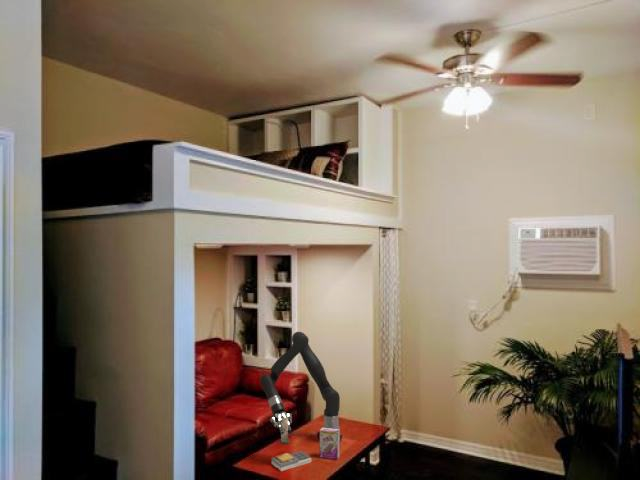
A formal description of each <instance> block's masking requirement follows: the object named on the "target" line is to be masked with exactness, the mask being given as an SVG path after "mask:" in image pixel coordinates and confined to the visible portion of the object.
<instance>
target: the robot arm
mask: <svg viewBox="0 0 640 480" xmlns="http://www.w3.org/2000/svg"><path fill="white" fill-rule="evenodd" d="M291 342H292V345H291V346H290V347H289V349H288V350H286V352H285V353H284V354H282V355H281V356H280V357H279V358H278V359H277V360H276V361H275V362H274V363H273V365H272V366H271V367H270V371H271V372H270V374H267V373H264V374H262V375H261V376H260V378H259V382H260V385H261V387H262V390H263V391H264V393H265V394H266V397H267V401H268V404H269V408H270V411H271V414H272V415H273V417H270V419H269V422H270V423H271V425H272V426H273V427H274V428H275V429H278V431H279V433H280V435H281V434H283V433H284V431H283V428H282V427H281V418H282V417H287V418H288V434H290V433H291V431H292V428H291V427H292V426H291V424H292V422H293V420H292V418H293V417H292V415H293V414H292V413H287V412H286V409H285V406H284V403H283V401H282V399H281V396H280V394H279V392H278V389H277V388H276V387H275V385H276V384H277V381H278V380H279V378H280V376H281V375H282V373H283V372H284V370H285V369H286V368H287V367H288V366H289V365H290V363H291V362H292V361H293V360H294V359H295V357H297V356H298V355H299V354H300V356H301V358H302V361H303V363H304V365H305V368H306V370H307V371H308V374H309V375H310V377H311V378H312V380H313V381H314V382H315V384H316V386H317V388H318V390H319V392H320V394H321V396H322V397H321V398H322V399H323V401H324V402H325V408H324V409H323V428H331V429H339V442H340V441H341V428H340V427H341V426H340V425H339V423H340V422H339V411H340V407H341V406H340V404H341V403H340V400H341V399H340V398H341V397H340V393H339V392H338V391H337V390H336V389H334V388H333V386H332V385H331V383H330V382H329V380H328V379H327V376H326V370H325V368H324V366H323V364H322V362H321V361H320V360H319V358H318V357H317V355H316V353H315V352H313V350H312V348H311V347H310V344H309V343H310V341H309V337H308V336H307V334H305V333H304V332H302V331H296V332H294V333H293V334H292V337H291Z"/></svg>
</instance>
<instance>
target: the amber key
mask: <svg viewBox="0 0 640 480" xmlns="http://www.w3.org/2000/svg"><path fill="white" fill-rule="evenodd" d="M288 453H289V452H288ZM288 453H287V452H286V453H282V454H280V455H275V457H276V458H277V459H278V460H279V461H281V462H282V463H283V462H287V461H290V460H293V457H292V456H290V455H289V454H290V453H289V454H288Z"/></svg>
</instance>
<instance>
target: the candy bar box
mask: <svg viewBox="0 0 640 480" xmlns="http://www.w3.org/2000/svg"><path fill="white" fill-rule="evenodd" d="M319 458H320V459H327V460H334V461H335V460H338V459H339V458H340V441H339V429H331V428H324V427H321V428H320V429H319Z"/></svg>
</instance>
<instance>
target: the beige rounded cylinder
mask: <svg viewBox="0 0 640 480" xmlns="http://www.w3.org/2000/svg"><path fill="white" fill-rule="evenodd" d="M281 427H282V428H283V431H284V433H283V434H281V433H280V440H279V444H280V445H283V446H285V445H289V444H290V439H289V432H288V417H282V418H281Z"/></svg>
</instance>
